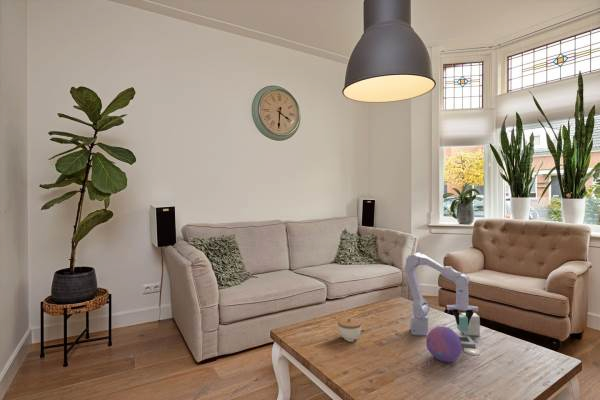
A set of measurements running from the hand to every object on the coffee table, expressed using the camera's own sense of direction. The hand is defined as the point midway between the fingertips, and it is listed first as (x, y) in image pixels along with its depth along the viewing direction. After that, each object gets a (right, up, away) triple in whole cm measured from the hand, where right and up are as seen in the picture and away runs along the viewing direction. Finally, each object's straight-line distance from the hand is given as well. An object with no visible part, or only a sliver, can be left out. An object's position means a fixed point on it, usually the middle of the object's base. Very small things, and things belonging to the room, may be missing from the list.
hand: (462, 324), depth 167 cm
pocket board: (-4, -10, +1) cm, 11 cm away
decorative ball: (-17, -11, -16) cm, 25 cm away
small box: (+10, -10, +11) cm, 18 cm away
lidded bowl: (-57, -11, +8) cm, 58 cm away
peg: (0, -3, 0) cm, 3 cm away
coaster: (0, -10, -9) cm, 13 cm away
